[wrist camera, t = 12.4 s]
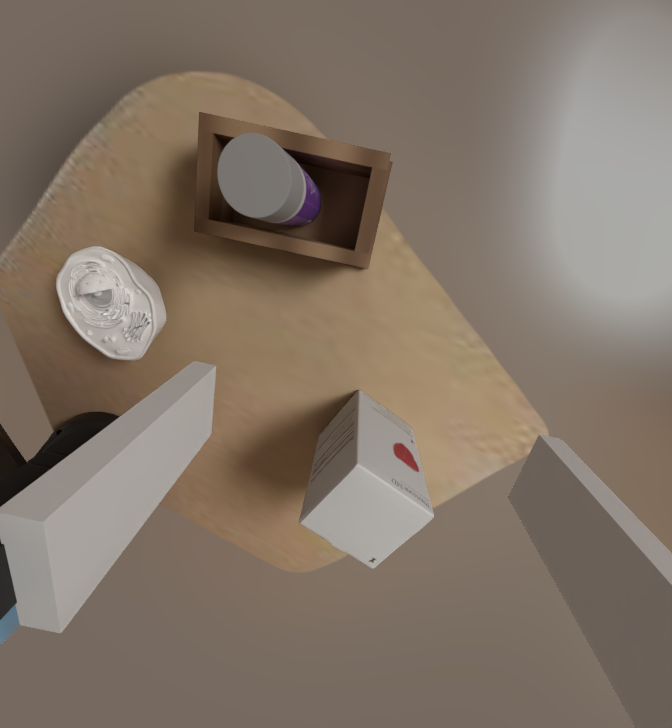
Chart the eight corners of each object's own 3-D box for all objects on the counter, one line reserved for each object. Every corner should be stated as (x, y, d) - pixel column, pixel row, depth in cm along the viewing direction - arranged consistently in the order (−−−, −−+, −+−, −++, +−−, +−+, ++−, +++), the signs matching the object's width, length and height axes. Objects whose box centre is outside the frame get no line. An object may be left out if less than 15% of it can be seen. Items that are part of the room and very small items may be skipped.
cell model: (117, 352, 43) (74, 373, 36) (77, 253, 38) (21, 257, 32) (192, 342, 41) (162, 361, 35) (159, 238, 37) (117, 239, 31)
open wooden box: (219, 236, 37) (188, 236, 30) (226, 128, 33) (193, 102, 26) (368, 267, 37) (369, 275, 30) (391, 163, 33) (398, 146, 26)
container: (331, 193, 33) (308, 163, 19) (306, 236, 35) (268, 236, 21) (290, 164, 33) (237, 110, 19) (267, 208, 34) (201, 189, 20)
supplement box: (414, 427, 43) (439, 519, 29) (370, 471, 46) (373, 573, 32) (358, 386, 42) (357, 463, 28) (316, 434, 45) (295, 525, 31)
